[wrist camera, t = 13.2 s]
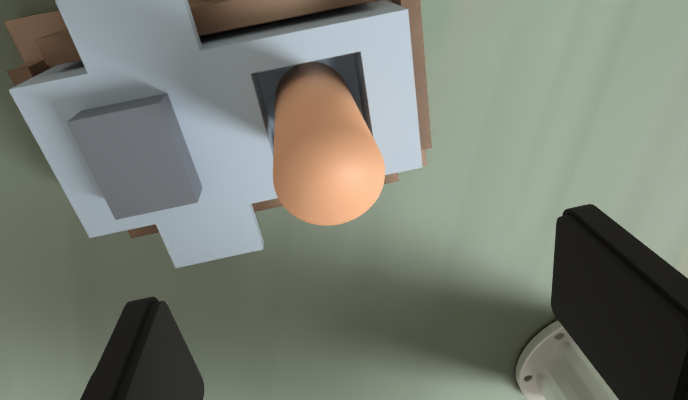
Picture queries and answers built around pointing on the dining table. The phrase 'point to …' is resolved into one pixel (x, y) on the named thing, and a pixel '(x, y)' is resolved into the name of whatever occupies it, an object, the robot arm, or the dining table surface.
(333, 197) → the tail peg
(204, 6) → the cradle
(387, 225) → the dining table surface
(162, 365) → the robot arm
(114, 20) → the pale blue peg socket
